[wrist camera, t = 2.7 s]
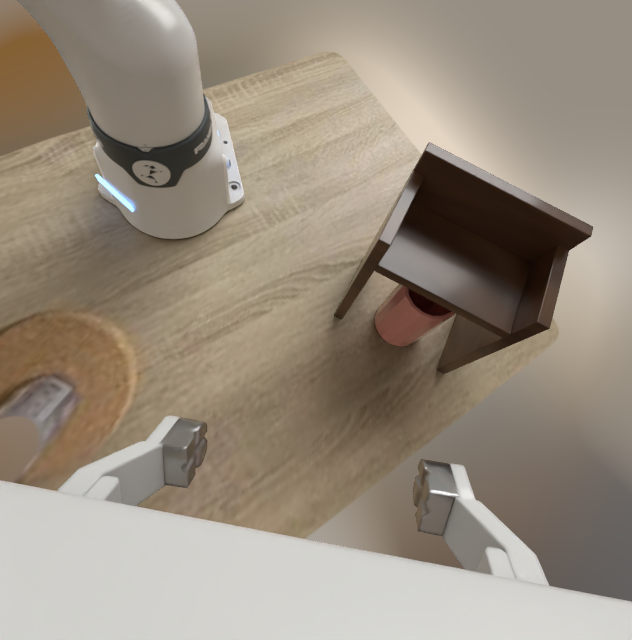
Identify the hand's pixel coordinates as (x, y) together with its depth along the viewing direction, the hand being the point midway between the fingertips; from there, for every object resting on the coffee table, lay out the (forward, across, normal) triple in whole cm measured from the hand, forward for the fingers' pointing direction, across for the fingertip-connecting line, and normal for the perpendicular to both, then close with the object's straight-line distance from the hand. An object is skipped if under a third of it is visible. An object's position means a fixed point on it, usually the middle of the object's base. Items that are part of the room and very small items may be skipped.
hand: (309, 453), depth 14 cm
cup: (+37, -8, +8) cm, 39 cm away
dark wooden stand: (+38, -8, +7) cm, 39 cm away
